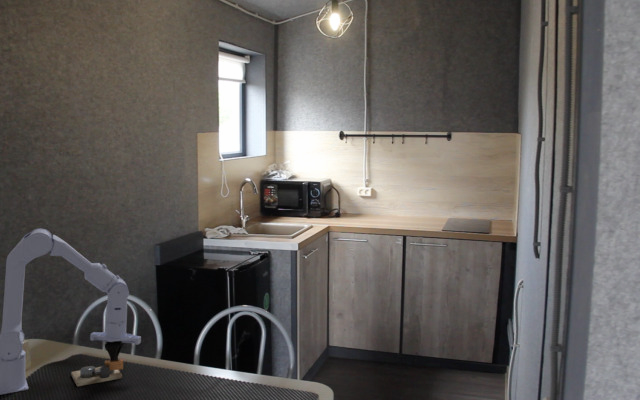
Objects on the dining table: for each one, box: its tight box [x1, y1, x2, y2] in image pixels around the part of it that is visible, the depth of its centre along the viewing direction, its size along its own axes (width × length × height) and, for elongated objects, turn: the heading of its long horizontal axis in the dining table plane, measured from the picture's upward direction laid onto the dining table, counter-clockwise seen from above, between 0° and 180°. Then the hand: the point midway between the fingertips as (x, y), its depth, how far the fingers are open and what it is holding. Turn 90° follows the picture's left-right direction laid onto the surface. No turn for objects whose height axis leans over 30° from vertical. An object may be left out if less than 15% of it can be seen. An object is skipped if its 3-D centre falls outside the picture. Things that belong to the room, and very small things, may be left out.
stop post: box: [100, 365, 109, 378], centre depth 153 cm, size 2×2×3 cm
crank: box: [79, 358, 124, 378], centre depth 155 cm, size 12×4×3 cm, turn 112°
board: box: [70, 366, 123, 387], centre depth 156 cm, size 12×9×1 cm
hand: (114, 365), depth 158 cm, fingers closed, pressing on crank
